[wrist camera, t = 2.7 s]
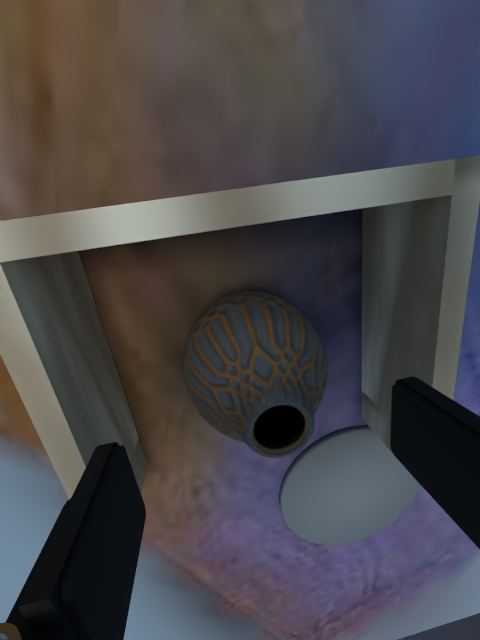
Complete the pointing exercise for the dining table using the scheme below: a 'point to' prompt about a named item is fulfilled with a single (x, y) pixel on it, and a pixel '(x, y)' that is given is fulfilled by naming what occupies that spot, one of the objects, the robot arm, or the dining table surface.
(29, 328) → the holder
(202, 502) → the dining table surface
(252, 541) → the dining table surface
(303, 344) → the vase
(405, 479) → the mat
